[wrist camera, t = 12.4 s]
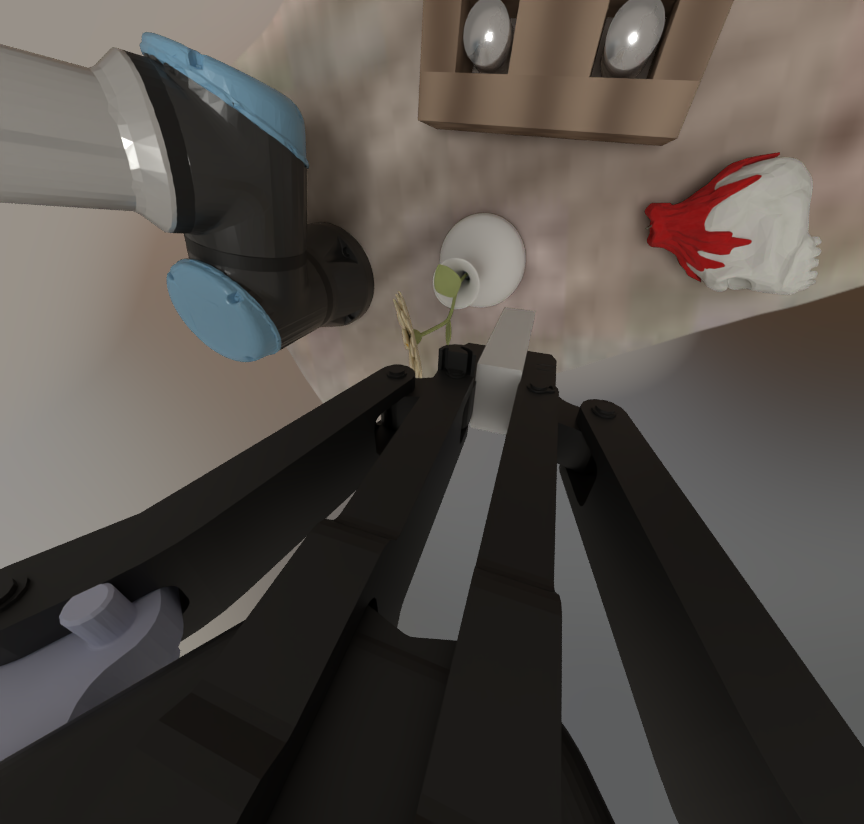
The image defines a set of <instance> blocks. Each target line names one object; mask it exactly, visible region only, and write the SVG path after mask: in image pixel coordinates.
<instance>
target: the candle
mask: <svg viewBox="0 0 864 824" xmlns="http://www.w3.org/2000/svg"><path fill="white" fill-rule="evenodd" d="M778 155H780V152H779V153H772V154H766V155H760V156H755V157H750V158H746V159H743V160H740V161H738V162H735V163H732V164H730V165H729V166H727V167H726V168H725V169H724V170H722V171H721V172H720V173H719V174H718V175H717V176H716V177H714V178H713V179H712V180H711V181H710V183H708V184H707V185H706V186H704V187H703V188H701V189H700V190H699V191H697V192H696V193H694V194H693V195H692V196H690V197H689V198H688V199H686V200H685V201H683V202H681V203H678V204H675V205H672V204H671V203H651V204H650V205H649V206H648V207H647V208H646V209H645V214H646V215H647V217H648V218H649V219H650V220H651V222H650V226H648V227H647V228H646V229H648V228H650V234H649V236H648V239H647V243H648V244H649V246H651V247H661V248H665V249H667V250H668V251H670V252H672V253H673V254H675V255H676V257H677V259H678V261H679V264H680V265H681V266H682V267H683V268H684V269H685V270H686V273H687V275H688V276H690V277H692V278H694V279H696V280H698V281H700V282H701V279H702V280H703V281H704V283H705V284H706V286H707V287H709V288H710V289H712V290H714V291H718V292H722V291H725V290H726V289H727V288H728V287H729V288H730V289H734V290H737V289H743V288H747V289H750V290H753V291H758V292H763V293H771V294H781V295H790V294H794V293H796V292H797V291H801V290H805V289H807V288H809V285H813V284H815V283H816V280H810V279H813V278H816V276H817V274H818V272H817V271H810V270H811V269H812V268H813V267H816V266H818V263H819V260H818V259H816V258H814V257H816V256H818V255H820V253H821V249H820V248H816V246H817V245H819V244H820V243H821V240H820V237H817V236H815V237H811V236H810V234H809V233H808V229H809V211H810V202H811V196H812V190H813V180H812V177H811V175H810V173H809V172H808V170H807V169H806V167H805V166H804V164H803V163H802V162H801V161H800V160H798V159H796V158H789V157H781V158H775V157H777V156H778Z"/></svg>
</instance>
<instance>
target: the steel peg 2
mask: <svg viewBox="0 0 864 824" xmlns="http://www.w3.org/2000/svg"><path fill="white" fill-rule="evenodd" d="M664 23H665V10H664V6H663V4H662V2H661V0H628V1H627V2H626V3H625V4H624V5H623V6H622V7H621V8H620V9H619V11H618V12H617V13H616V15H615V17H614V18H613V20H612V22H611V24H610V27H609V29H608V33H607V37H606V41H605V45H604V49H603V53H602V57H601V66H600V67H601V74H602V77H603V78H629V79H634V78H635V77H636V76H637V75H638V74H639V72H640V71H641V70H642V68H643V67H644V65H645V63H646V62H647V60H648V58H649V57H650V55H651V53H652V52H653V50H654V48H655V47H656V45H657V43H658V41H659V39H660V37H661V35H662V32H663V28H664Z"/></svg>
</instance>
